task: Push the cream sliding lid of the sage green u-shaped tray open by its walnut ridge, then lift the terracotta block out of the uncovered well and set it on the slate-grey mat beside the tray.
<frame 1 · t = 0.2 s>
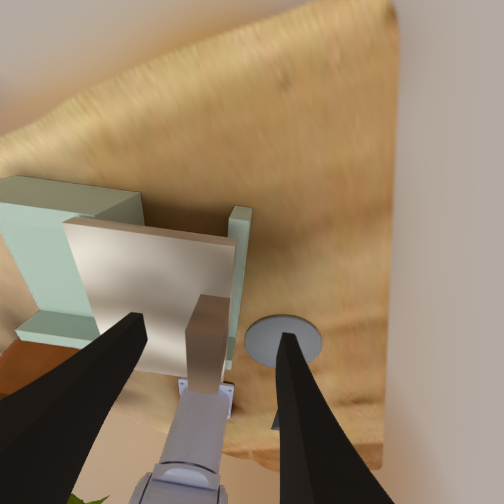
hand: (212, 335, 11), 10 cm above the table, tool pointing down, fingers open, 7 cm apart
sage green u-shaped tray: (145, 261, 22), on the table
mat: (282, 342, 26), on the table
decorative plant: (68, 365, 33), on the table
lid: (153, 330, 15), point 8 cm above the table, slide at 0.0 cm
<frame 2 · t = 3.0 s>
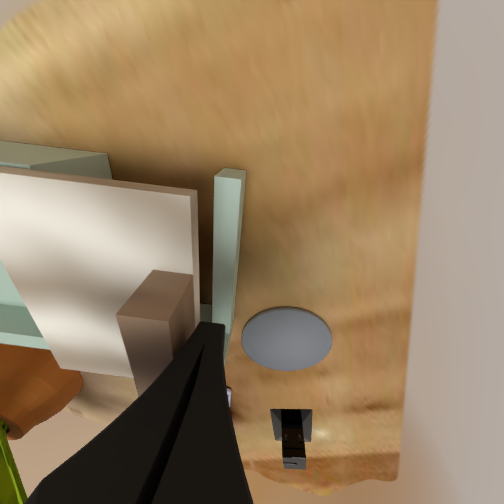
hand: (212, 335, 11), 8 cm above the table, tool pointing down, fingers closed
sage green u-shaped tray: (120, 243, 18), on the table
mat: (285, 339, 22), on the table
decorative plant: (45, 368, 29), on the table
lid: (94, 320, 11), point 8 cm above the table, slide at 1.1 cm, touching gripper
black boxy piece: (291, 420, 32), on the table
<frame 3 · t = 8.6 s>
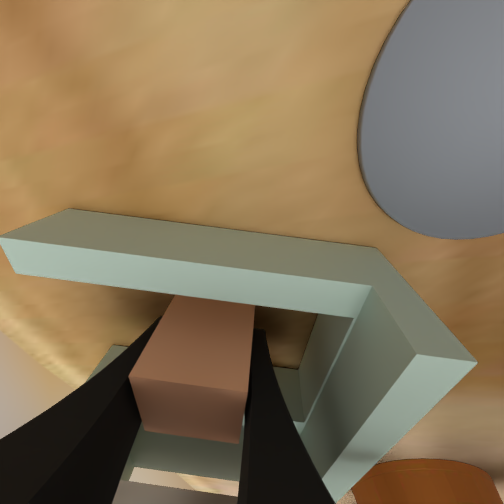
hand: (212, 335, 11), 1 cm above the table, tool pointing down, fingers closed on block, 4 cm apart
sage green u-shaped tray: (215, 363, 15), on the table
block: (217, 315, 13), resting in sage green u-shaped tray, touching gripper
decorative plant: (420, 477, 22), on the table
when the fingers open (3 cm above the table, at t = 12.0 s): block drops 1 cm, resting on mat.
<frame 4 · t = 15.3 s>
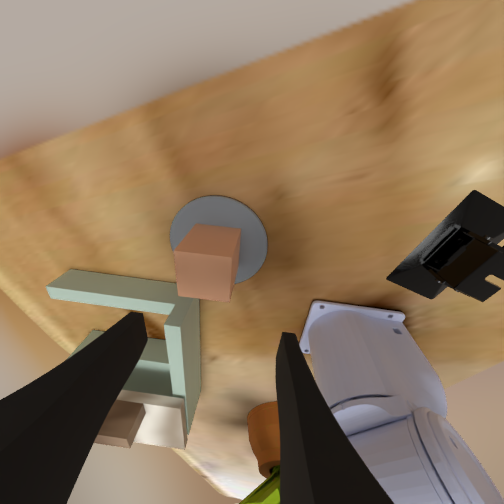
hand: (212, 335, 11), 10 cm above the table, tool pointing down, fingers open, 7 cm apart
sage green u-shaped tray: (146, 340, 28), on the table
mat: (219, 243, 20), on the table
block: (218, 246, 20), resting on mat
decorative plant: (287, 416, 35), on the table
lid: (118, 432, 24), point 8 cm above the table, slide at 10.2 cm
black boxy piece: (444, 247, 20), on the table
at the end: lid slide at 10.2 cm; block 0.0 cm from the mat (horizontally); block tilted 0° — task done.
